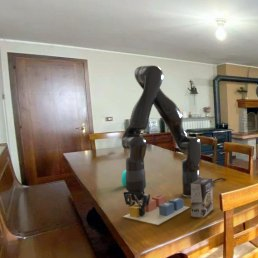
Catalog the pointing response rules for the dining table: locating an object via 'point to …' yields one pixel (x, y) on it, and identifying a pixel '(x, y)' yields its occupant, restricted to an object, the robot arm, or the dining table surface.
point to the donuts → (124, 178)
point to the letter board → (156, 216)
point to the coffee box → (201, 197)
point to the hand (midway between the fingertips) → (137, 214)
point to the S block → (134, 211)
